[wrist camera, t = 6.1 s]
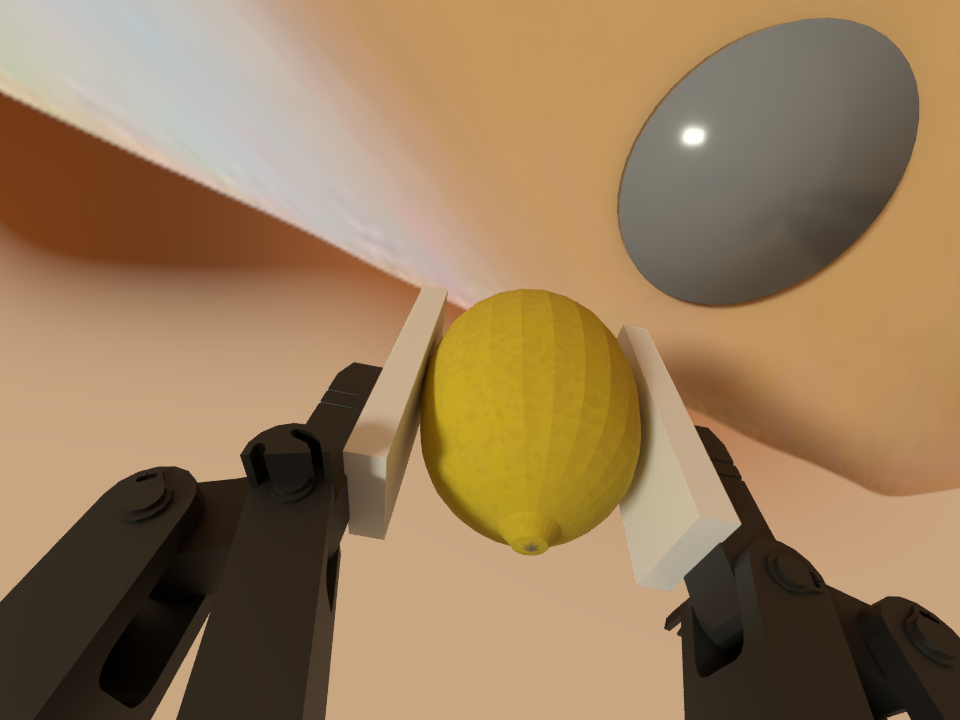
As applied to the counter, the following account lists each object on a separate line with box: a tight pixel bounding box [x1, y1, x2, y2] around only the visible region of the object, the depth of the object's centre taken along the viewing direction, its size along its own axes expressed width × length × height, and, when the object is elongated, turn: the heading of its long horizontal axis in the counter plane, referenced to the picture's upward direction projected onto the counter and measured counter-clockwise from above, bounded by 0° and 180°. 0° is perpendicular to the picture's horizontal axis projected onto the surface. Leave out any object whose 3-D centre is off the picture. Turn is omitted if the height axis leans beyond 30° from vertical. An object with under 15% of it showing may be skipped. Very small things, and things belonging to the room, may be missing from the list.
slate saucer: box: [617, 18, 919, 304], centre depth 21 cm, size 14×14×1 cm
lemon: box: [420, 289, 641, 555], centre depth 10 cm, size 6×6×8 cm
